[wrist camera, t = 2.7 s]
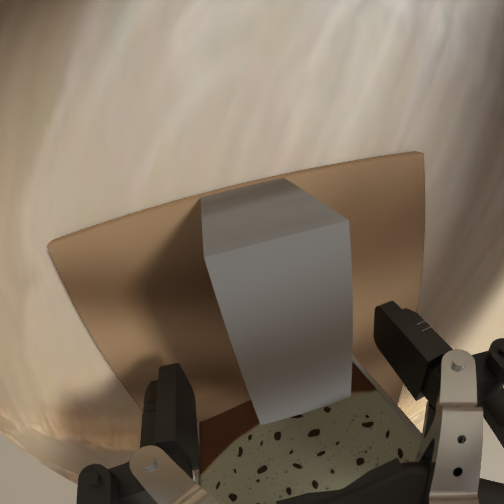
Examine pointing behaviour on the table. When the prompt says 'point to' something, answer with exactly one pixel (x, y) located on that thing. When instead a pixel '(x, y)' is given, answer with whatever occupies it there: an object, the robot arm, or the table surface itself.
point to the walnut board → (179, 293)
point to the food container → (303, 446)
